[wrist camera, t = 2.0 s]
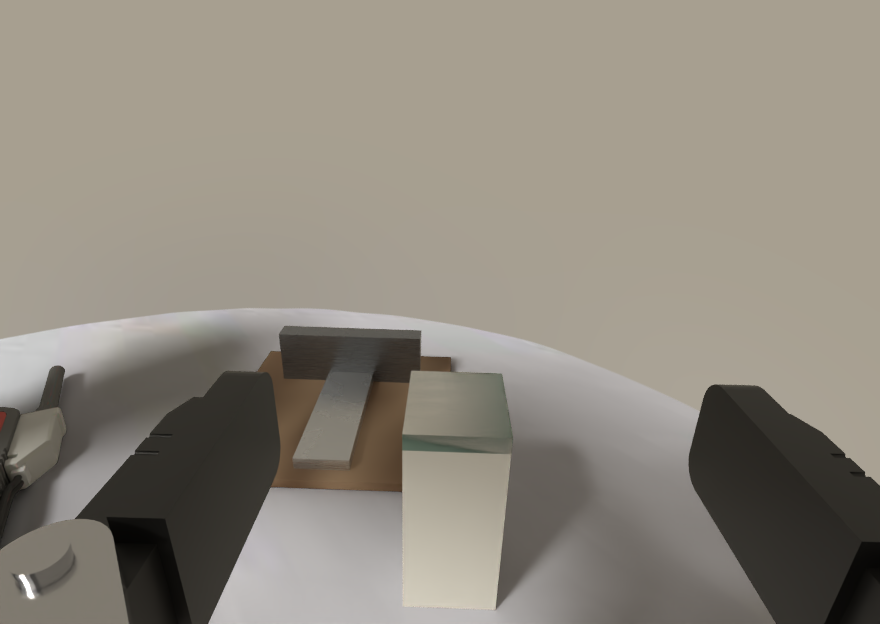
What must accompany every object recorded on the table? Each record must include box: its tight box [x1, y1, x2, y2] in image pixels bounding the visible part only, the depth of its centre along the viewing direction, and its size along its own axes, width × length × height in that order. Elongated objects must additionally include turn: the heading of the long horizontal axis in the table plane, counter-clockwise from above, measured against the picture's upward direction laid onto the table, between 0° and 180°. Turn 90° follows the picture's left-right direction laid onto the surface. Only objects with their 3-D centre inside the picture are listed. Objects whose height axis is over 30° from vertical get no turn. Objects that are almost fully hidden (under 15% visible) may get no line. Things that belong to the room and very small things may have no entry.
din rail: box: [293, 372, 373, 471], centre depth 38 cm, size 4×14×1 cm, turn 179°
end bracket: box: [279, 326, 421, 383], centre depth 42 cm, size 11×2×4 cm, turn 89°
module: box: [402, 371, 513, 610], centre depth 25 cm, size 4×5×10 cm
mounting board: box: [257, 351, 451, 492], centre depth 39 cm, size 16×16×1 cm
